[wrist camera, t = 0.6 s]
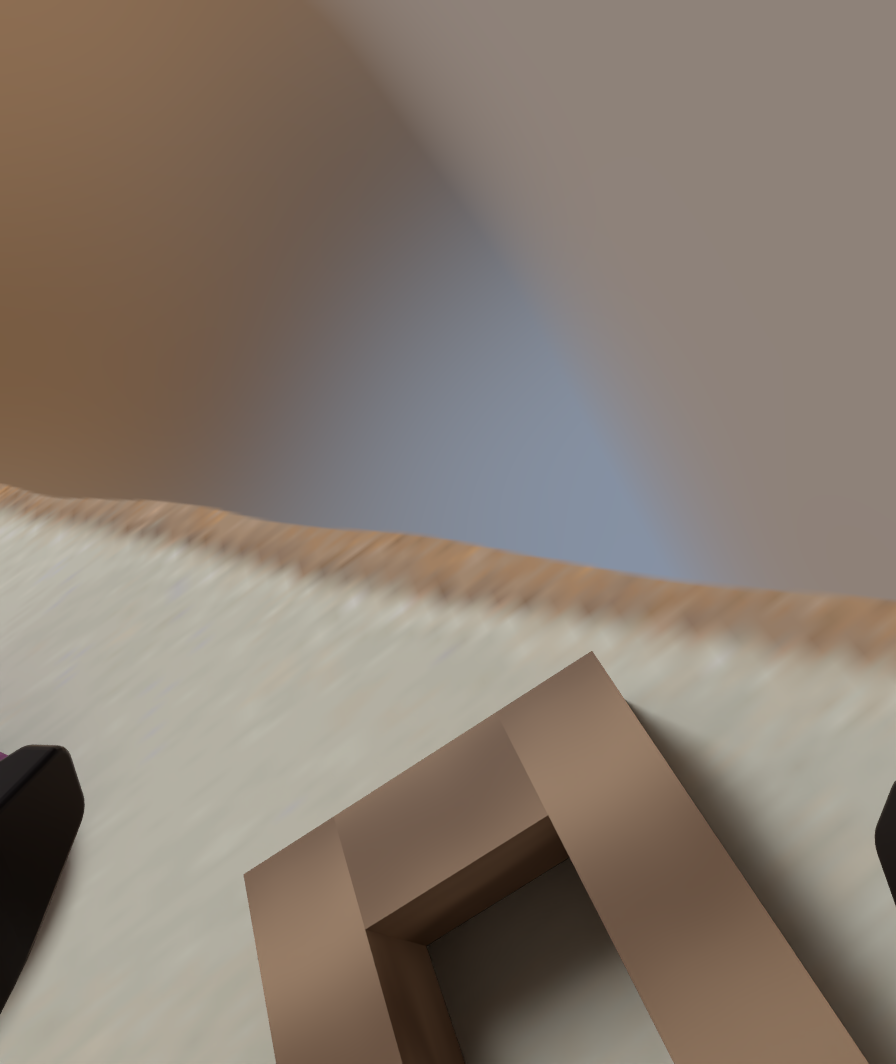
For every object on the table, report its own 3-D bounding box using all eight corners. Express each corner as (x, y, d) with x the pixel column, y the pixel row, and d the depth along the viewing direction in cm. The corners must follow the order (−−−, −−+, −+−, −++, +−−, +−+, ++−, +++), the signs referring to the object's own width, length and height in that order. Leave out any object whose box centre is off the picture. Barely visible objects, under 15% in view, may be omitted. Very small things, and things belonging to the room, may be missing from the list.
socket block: (943, 1174, 14) (960, 1199, 12) (443, 1452, 15) (357, 1532, 12) (622, 697, 22) (591, 650, 20) (311, 895, 23) (243, 874, 21)
